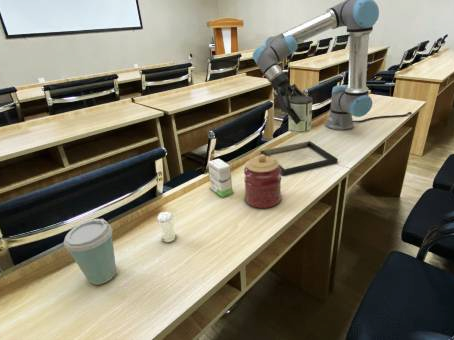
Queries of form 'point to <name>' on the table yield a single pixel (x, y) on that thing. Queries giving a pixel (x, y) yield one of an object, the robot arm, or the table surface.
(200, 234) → the table surface
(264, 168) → the kitchen canister
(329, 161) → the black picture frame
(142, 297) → the table surface
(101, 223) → the disposable coffee cup
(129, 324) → the table surface
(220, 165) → the ink box
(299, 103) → the coffee can
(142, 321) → the table surface
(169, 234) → the salt shaker
